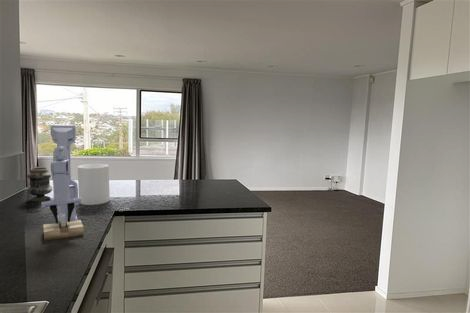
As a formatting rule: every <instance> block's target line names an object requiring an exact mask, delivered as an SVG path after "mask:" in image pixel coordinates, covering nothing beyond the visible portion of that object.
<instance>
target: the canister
mask: <svg viewBox="0 0 470 313" xmlns="http://www.w3.org/2000/svg"><path fill="white" fill-rule="evenodd" d="M109 166H110V165H109V164H105V163H87V164H81V165H78V166H77V186H78V198H82V203H80V205H86V206H88V205H90V206H97V205H100V204H101V205H102V204H105V203H108V202H109V201H111V199H110V197H111V196H110V174H109V173H110V171H109V169H110V167H109Z"/></svg>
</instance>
